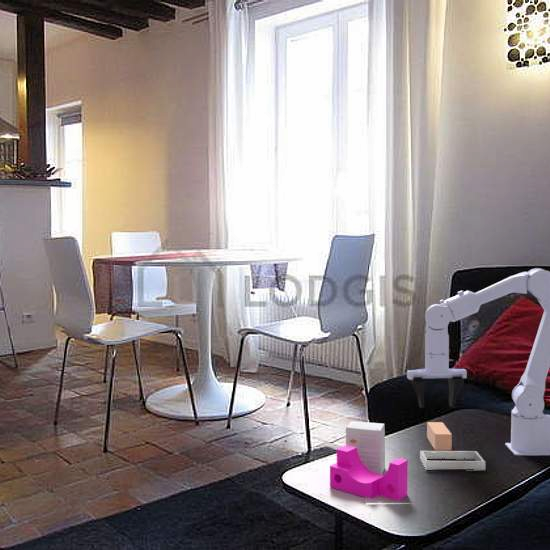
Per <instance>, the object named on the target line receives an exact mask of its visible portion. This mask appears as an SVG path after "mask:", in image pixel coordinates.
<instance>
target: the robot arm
mask: <svg viewBox="0 0 550 550" xmlns="http://www.w3.org/2000/svg"><path fill="white" fill-rule="evenodd" d="M528 292H529V293H530V294H531V295H533V296H534V297H535V298H536V299H537V301H538V303H539V304H540V305H541V308H542V309H543V313H542V317H541V320H540V322H539V326H538V329H537V333H536V336H535V339H534V342H533V346H532V349H531V351H530V355H529V358H528V361H527V364H526V367H525V370H524V371H523V374H522V375H521V377H520V380H519V382H518V384H517V385H516V386H514V388H513V389H512V392H511V399H512V400H513V402H514V404H515V405H514V407H513V409H511V416H510V417H511V418H510V419H511V420H510V423H511V424H510V427H511V428H510V442H505V444H504V445H505V446H506V447H507V448H508V449H509V450H510V452H512V453H513V455H514V456H550V414H544V410H545V401H544V395H545V392H546V380H547V376H548V373H549V371H550V271H549V270H545V269H543V268H540V267H535V268H532V269H530V270H528V271H522V272H519V273H516V274H514V275H509V276H508V277H506V278H504V279H502V280H500V281H498V282H496V283H493V284H491V285H489V286H487V287H485V288H483V289H481V290H478V291H476V292H473V291H471V290H466V291H464V290H460V291H457V294H456V295H455V296H452V297H448V298H447V299H445V300H444V298H442V299H441V300H439V303H440V304H439V303H434V304H431V305H430V306H428V307H427V309H426V311H425V314H424V320H425V323H426V326H425V334H424V340H425V341H424V368H419V369H408V370H406V378H407V379H408V380H410V381H411V384H412V386H413V388H414V391H415V394H416V397H417V402H418V407H419V408H420V409H425V388H426V382H424V380H423V379H447V383H448V406H449V407H450V408H455V405H456V402H457V398H458V395H459V393H460V391H461V388H462V387H463V386H464V383H465V380H464V379H467V374H468V371H467V369H465V368H449V367H450V366H449V365H450V364H449V363H450V359H449V358H450V357H449V356H450V349H449V347H450V335H449V332H448V331H449V329H448V327H449V324H450V323H451V322H453V323H455V322H458V321H460V320H462V319H465V318H466V317H469V316H471V315H473V314H476V313H478V312H479V310H480V308H481V305H483V304H487V303H489V302H491V301H494V300H497V299H499V298H502V297H504V296H507V295H509V294H510V295H511V294H512V293H513V294H514V293H517V294H525V295H526V294H528Z"/></svg>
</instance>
